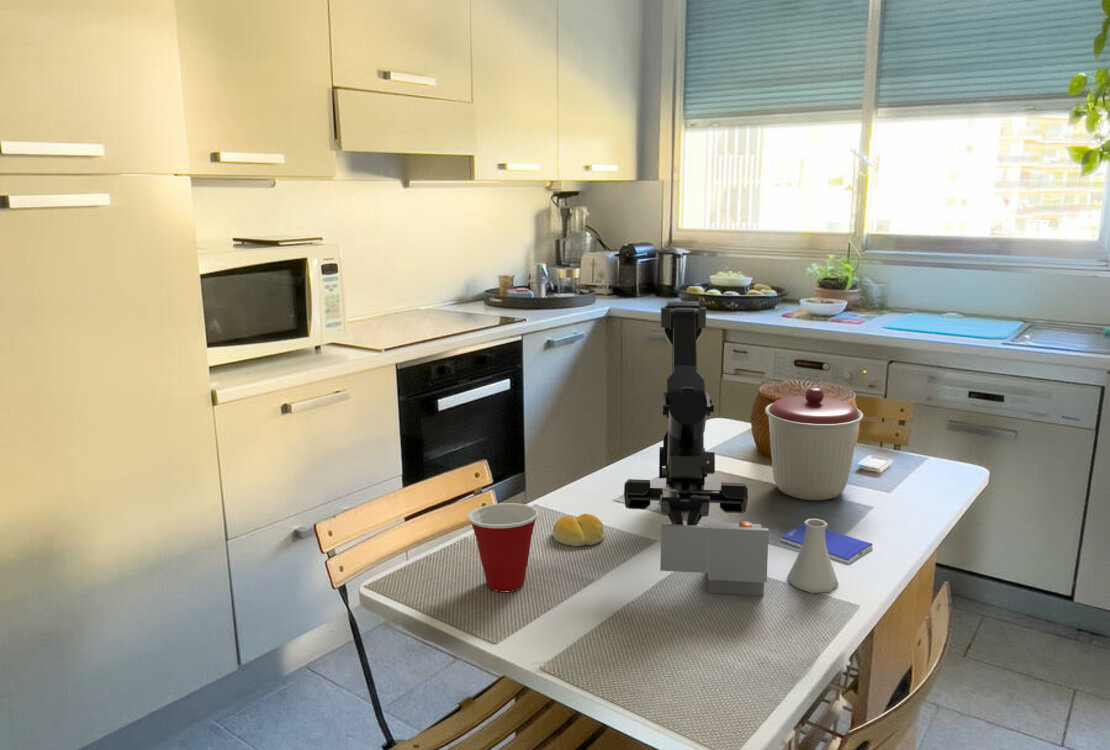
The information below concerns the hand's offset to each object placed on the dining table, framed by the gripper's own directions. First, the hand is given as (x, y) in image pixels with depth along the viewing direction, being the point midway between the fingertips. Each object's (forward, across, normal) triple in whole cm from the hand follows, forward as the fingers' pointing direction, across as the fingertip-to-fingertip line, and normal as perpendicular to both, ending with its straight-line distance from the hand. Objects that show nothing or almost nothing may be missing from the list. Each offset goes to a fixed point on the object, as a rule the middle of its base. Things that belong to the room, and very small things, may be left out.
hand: (684, 548), depth 127 cm
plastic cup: (+6, -27, +4) cm, 28 cm away
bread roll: (-7, -18, +17) cm, 26 cm away
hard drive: (-8, +24, +19) cm, 31 cm away
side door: (+4, +4, +1) cm, 6 cm away
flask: (+2, +20, +8) cm, 21 cm away
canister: (-26, +24, +36) cm, 50 cm away
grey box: (+2, +8, +7) cm, 11 cm away
